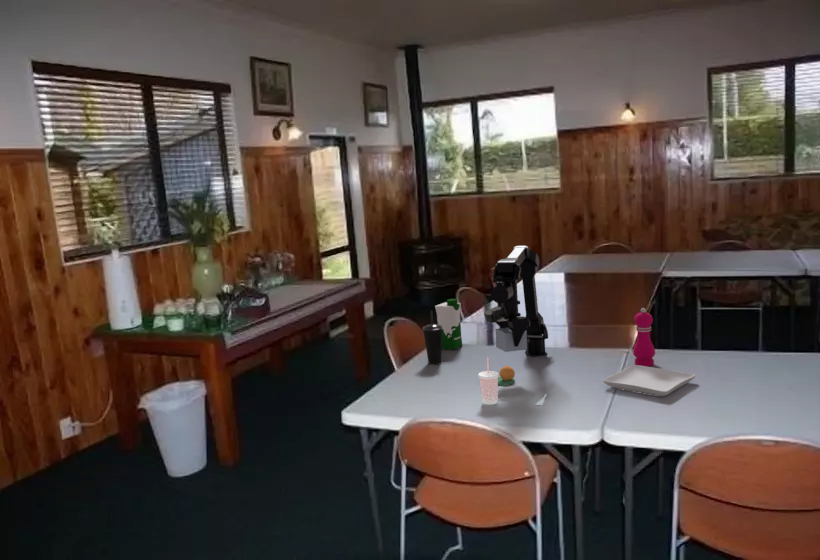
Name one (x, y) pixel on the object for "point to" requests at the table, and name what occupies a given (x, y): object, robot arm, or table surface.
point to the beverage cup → (489, 386)
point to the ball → (507, 373)
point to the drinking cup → (433, 341)
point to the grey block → (509, 340)
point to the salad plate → (648, 380)
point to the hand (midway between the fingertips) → (511, 344)
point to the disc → (504, 382)
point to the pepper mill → (643, 340)
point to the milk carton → (450, 323)
